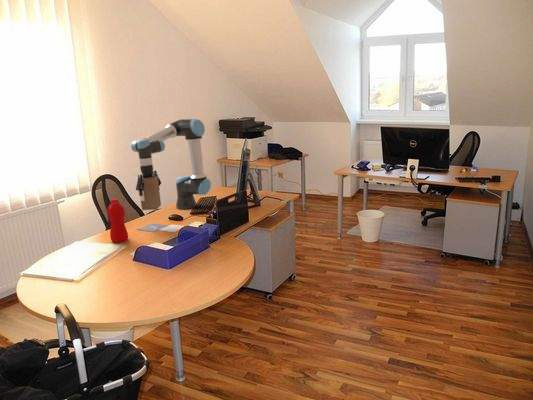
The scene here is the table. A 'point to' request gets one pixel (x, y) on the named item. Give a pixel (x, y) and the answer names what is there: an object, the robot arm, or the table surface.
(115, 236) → the water bottle
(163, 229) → the mat
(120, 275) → the table surface
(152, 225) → the tile
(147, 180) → the block
